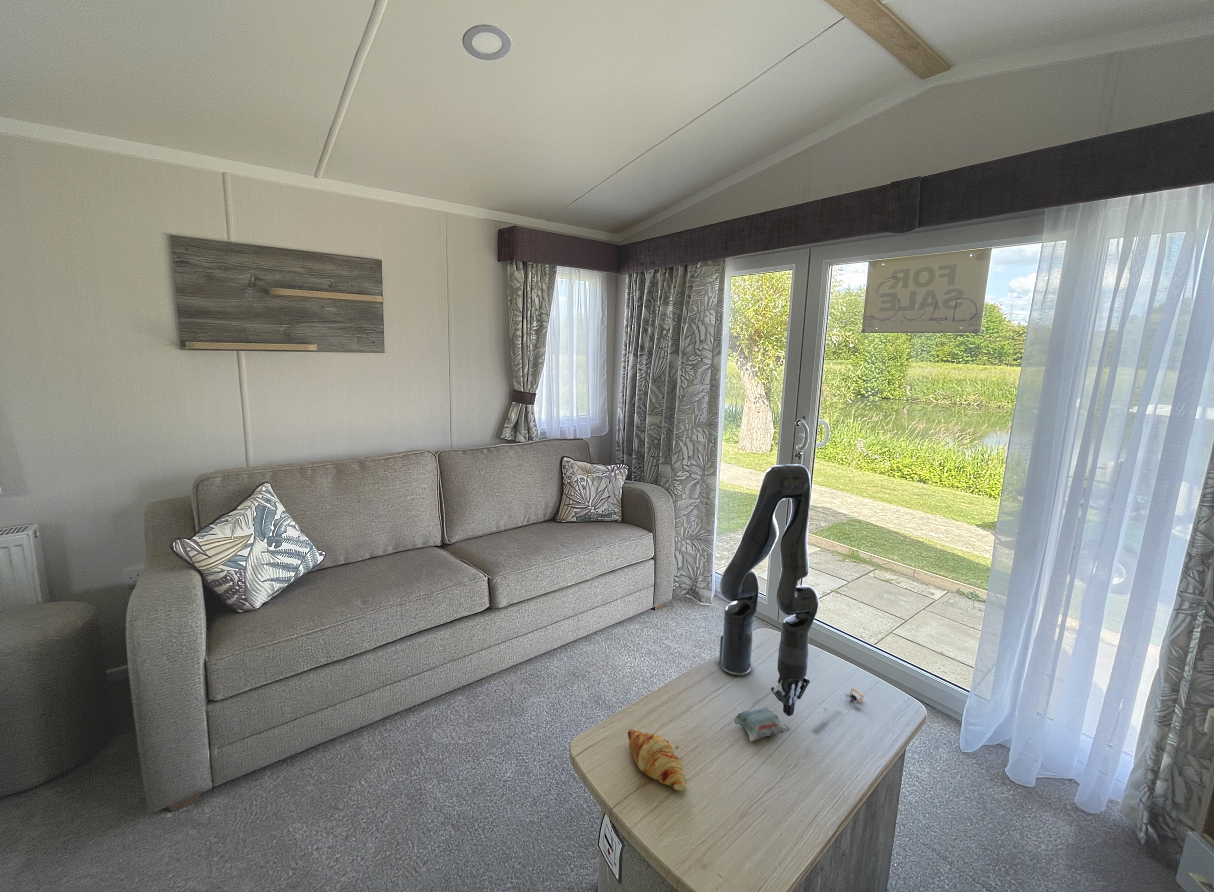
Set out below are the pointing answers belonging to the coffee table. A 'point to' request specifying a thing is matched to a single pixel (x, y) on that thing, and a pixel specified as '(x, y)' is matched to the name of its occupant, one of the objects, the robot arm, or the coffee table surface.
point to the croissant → (656, 759)
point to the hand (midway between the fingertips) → (788, 714)
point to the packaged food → (760, 723)
